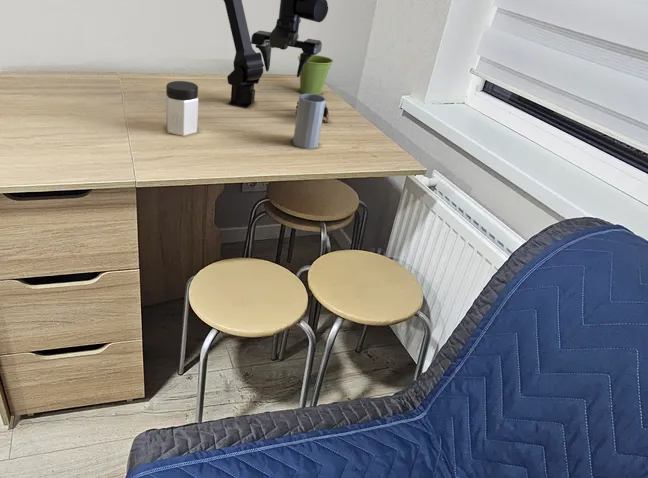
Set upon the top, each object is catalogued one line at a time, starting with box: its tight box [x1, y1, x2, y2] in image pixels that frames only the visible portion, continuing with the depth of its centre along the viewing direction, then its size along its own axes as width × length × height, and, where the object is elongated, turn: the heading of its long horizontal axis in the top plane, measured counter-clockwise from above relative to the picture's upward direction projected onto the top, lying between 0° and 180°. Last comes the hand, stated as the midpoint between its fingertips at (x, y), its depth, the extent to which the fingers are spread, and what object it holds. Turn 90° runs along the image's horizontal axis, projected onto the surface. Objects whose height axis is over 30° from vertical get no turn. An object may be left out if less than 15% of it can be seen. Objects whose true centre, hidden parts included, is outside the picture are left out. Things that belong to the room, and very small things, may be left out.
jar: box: [165, 80, 199, 137], centre depth 137 cm, size 9×8×12 cm
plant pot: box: [297, 54, 334, 95], centre depth 175 cm, size 12×12×11 cm
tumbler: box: [292, 93, 327, 150], centre depth 136 cm, size 7×7×12 cm
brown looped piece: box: [295, 100, 330, 123], centre depth 155 cm, size 12×10×8 cm
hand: (282, 74), depth 147 cm, fingers open, 9 cm apart
